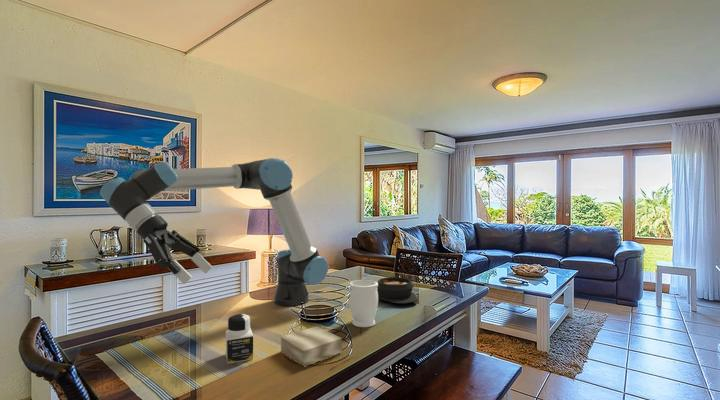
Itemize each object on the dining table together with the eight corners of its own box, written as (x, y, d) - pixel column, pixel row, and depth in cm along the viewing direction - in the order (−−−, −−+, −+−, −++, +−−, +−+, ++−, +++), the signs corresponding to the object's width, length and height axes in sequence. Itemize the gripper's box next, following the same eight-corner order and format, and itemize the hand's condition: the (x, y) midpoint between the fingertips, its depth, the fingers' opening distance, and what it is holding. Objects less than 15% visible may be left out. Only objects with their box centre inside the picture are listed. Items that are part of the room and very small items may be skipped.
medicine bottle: (227, 364, 100) (226, 321, 100) (225, 354, 106) (225, 314, 106) (253, 359, 103) (253, 318, 103) (250, 349, 109) (250, 310, 109)
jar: (364, 316, 139) (364, 278, 138) (384, 323, 131) (384, 282, 131) (343, 323, 131) (343, 282, 131) (363, 331, 124) (363, 288, 123)
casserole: (364, 294, 169) (364, 276, 169) (398, 290, 177) (398, 273, 177) (389, 310, 146) (389, 289, 146) (427, 304, 154) (427, 285, 154)
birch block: (317, 341, 116) (316, 326, 116) (341, 354, 106) (341, 338, 106) (281, 353, 108) (280, 336, 108) (304, 369, 98) (304, 350, 98)
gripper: (162, 228, 116) (208, 274, 116) (108, 236, 91) (167, 295, 91) (178, 212, 116) (224, 258, 116) (129, 216, 91) (187, 275, 91)
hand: (199, 275), depth 104 cm, fingers open, 13 cm apart
